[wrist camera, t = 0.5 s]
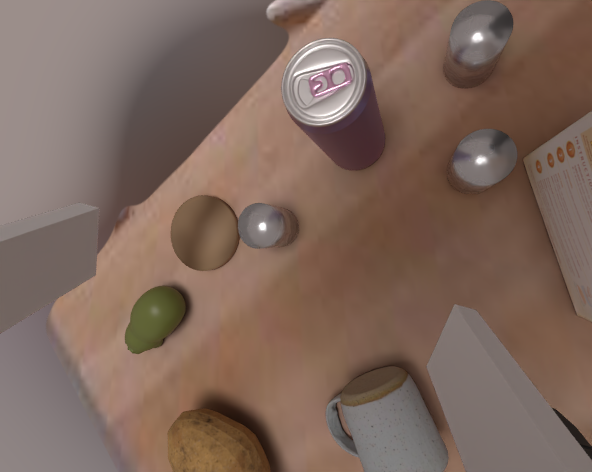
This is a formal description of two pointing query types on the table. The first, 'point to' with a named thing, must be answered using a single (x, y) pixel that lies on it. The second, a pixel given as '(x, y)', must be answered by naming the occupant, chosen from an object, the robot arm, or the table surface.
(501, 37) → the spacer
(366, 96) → the beverage can
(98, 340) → the table surface
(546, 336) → the table surface
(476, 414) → the robot arm
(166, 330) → the pear
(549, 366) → the table surface
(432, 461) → the ceramic mug
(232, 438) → the potato
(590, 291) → the coffeecake box
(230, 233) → the coaster
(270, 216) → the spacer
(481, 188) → the cylinder
